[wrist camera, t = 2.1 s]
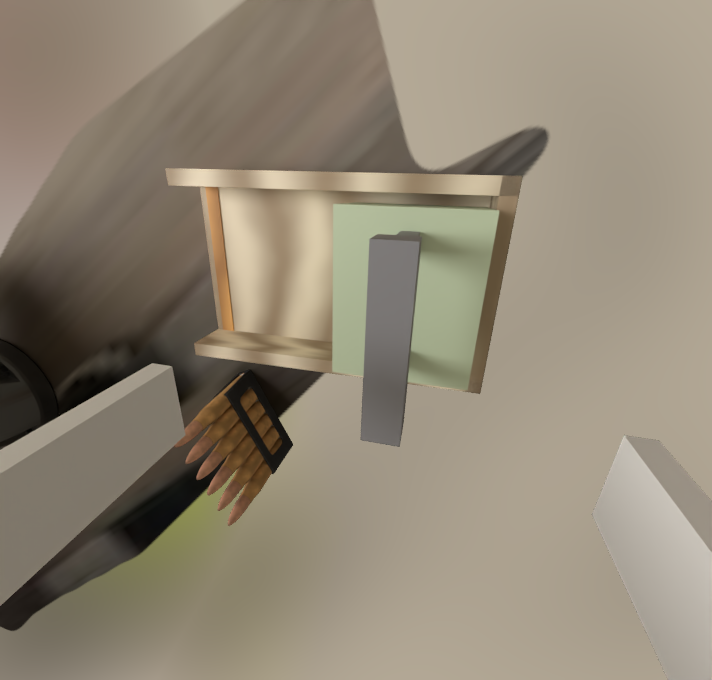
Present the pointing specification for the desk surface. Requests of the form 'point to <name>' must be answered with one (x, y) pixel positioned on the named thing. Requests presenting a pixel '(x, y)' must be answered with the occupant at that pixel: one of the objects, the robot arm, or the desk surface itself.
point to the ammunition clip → (238, 441)
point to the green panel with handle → (407, 301)
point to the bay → (314, 254)
